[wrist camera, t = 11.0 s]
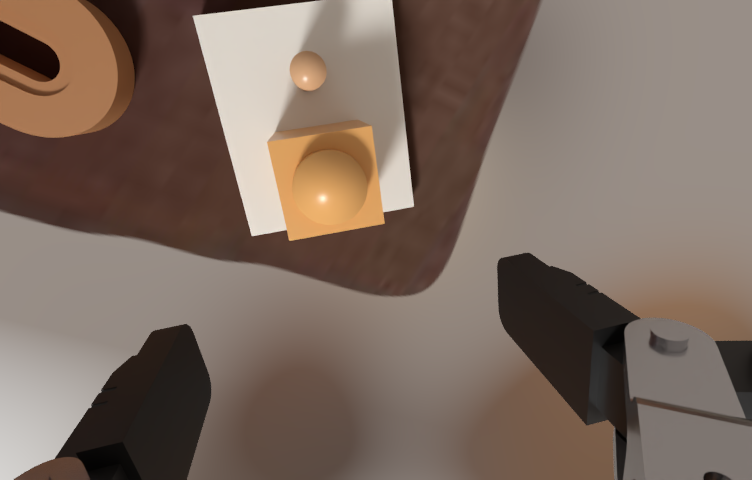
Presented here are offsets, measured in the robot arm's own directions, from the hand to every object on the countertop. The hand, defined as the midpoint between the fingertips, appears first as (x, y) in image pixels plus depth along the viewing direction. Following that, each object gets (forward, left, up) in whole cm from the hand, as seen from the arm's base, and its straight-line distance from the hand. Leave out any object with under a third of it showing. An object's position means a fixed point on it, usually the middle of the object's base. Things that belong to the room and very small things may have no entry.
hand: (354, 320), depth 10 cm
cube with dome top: (0, +1, -19) cm, 19 cm away
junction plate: (0, +4, -20) cm, 21 cm away
